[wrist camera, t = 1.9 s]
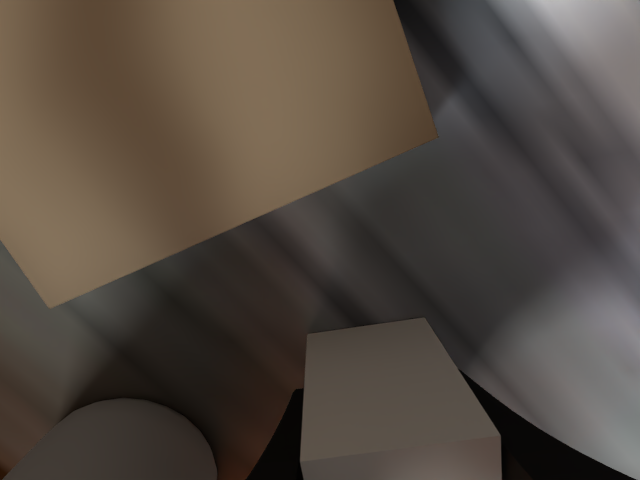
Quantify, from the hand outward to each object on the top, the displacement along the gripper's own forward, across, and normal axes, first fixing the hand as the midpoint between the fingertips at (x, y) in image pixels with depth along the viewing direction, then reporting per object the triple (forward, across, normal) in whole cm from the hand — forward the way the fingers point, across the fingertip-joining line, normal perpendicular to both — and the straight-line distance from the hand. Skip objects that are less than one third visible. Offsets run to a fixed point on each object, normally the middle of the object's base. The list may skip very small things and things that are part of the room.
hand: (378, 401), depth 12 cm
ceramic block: (+1, 0, 0) cm, 1 cm away
